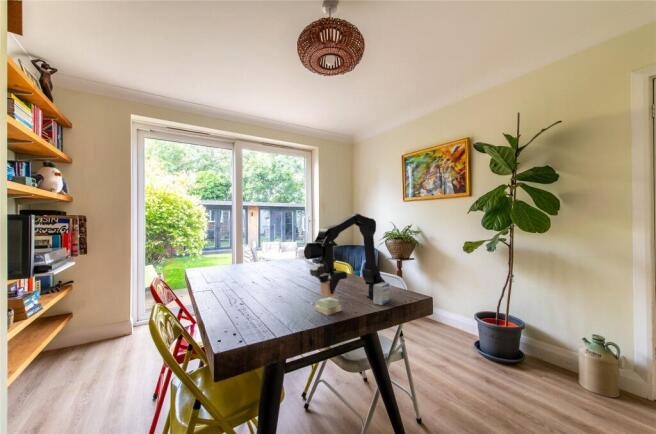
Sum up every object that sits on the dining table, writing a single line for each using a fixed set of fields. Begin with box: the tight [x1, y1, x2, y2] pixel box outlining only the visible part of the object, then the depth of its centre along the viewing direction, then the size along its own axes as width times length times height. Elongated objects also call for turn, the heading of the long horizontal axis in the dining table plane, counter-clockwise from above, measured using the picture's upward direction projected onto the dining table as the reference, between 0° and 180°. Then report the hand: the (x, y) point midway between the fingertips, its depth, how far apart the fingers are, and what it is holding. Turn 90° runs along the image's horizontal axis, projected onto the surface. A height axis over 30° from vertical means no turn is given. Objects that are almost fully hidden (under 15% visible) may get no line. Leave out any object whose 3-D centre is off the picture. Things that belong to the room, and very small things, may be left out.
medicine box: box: [372, 281, 390, 306], centre depth 121 cm, size 8×4×9 cm, turn 141°
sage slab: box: [317, 296, 340, 309], centre depth 112 cm, size 6×6×2 cm
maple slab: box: [315, 304, 343, 316], centre depth 112 cm, size 8×8×2 cm
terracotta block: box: [320, 281, 336, 298], centre depth 112 cm, size 4×4×6 cm
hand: (328, 292), depth 112 cm, fingers closed on terracotta block, 4 cm apart
